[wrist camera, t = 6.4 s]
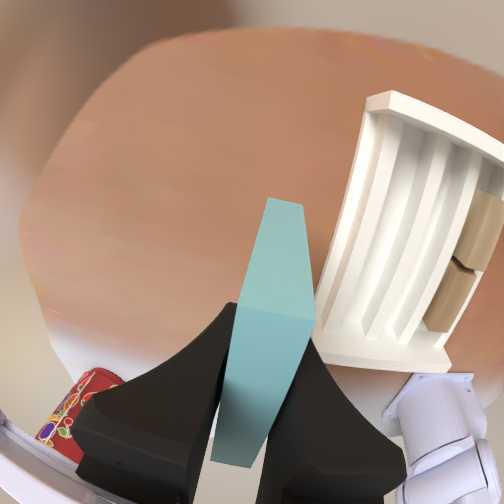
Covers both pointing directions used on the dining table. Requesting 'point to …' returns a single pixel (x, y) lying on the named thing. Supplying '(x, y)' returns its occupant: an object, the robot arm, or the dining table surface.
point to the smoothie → (74, 413)
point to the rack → (400, 234)
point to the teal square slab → (266, 334)
